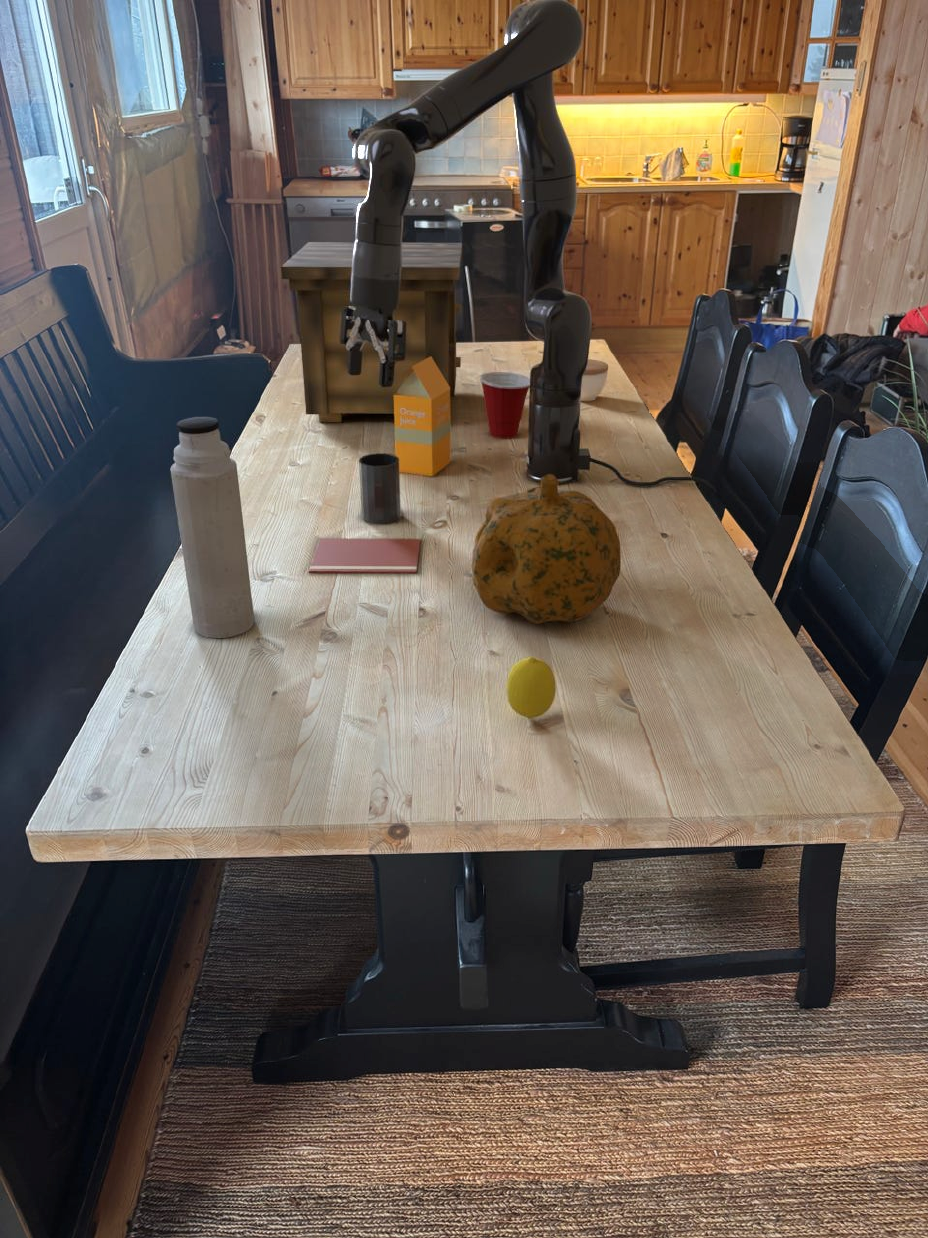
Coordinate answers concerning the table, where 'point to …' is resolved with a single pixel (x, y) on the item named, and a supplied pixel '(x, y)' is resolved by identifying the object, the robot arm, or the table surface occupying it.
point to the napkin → (366, 556)
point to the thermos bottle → (211, 530)
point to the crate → (324, 359)
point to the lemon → (531, 687)
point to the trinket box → (593, 379)
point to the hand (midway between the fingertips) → (369, 380)
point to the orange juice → (423, 420)
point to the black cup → (380, 488)
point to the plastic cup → (504, 401)
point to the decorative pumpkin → (545, 554)
